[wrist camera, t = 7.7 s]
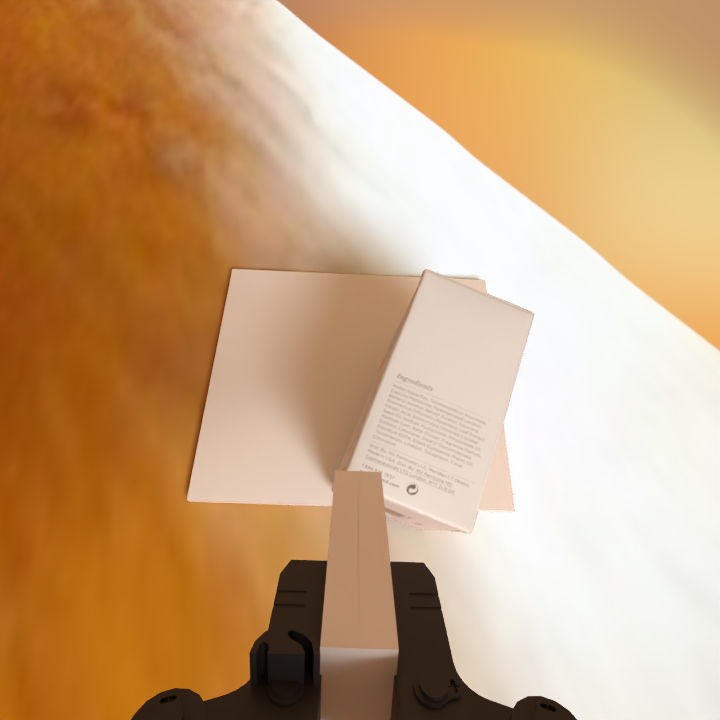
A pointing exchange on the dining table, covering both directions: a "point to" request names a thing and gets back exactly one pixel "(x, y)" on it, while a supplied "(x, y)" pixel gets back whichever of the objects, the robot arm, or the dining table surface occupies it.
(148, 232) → the dining table surface
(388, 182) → the dining table surface
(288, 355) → the beige mat
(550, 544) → the dining table surface
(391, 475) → the small box
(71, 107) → the dining table surface
